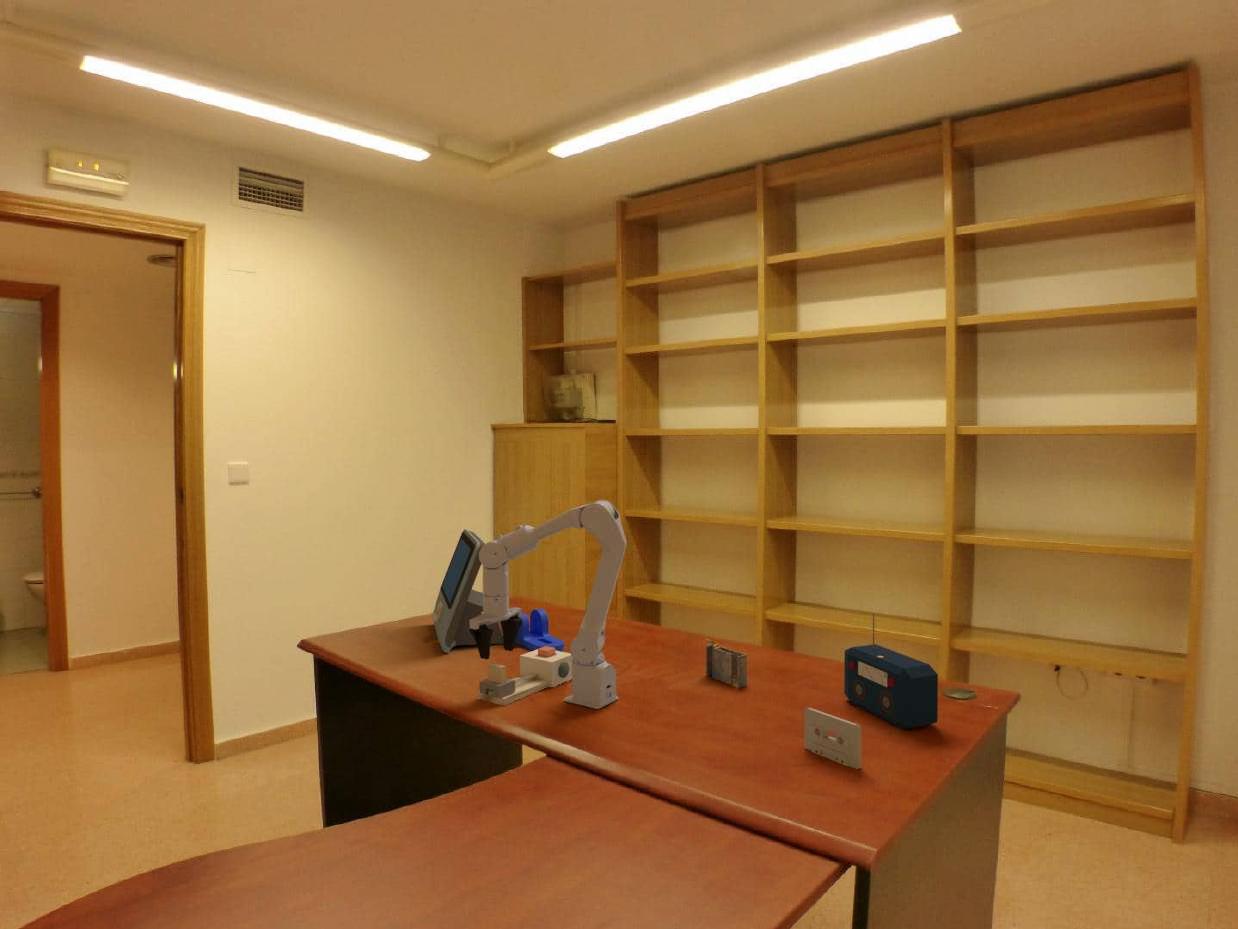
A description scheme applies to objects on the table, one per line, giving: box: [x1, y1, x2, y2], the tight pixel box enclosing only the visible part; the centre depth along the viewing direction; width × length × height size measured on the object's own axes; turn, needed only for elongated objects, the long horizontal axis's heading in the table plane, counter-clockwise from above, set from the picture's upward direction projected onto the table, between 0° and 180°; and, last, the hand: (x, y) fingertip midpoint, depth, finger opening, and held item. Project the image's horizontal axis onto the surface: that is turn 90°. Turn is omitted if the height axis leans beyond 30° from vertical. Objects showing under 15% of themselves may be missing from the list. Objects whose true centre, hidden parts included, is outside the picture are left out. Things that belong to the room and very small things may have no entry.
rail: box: [488, 673, 539, 696], centre depth 177 cm, size 2×15×1 cm, turn 145°
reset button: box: [538, 646, 556, 658], centre depth 186 cm, size 3×3×2 cm
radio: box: [843, 612, 939, 730], centre depth 162 cm, size 21×9×20 cm, turn 21°
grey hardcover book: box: [704, 638, 748, 689], centre depth 185 cm, size 11×3×10 cm, turn 35°
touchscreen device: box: [430, 528, 504, 654], centre depth 227 cm, size 35×20×30 cm, turn 17°
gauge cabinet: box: [519, 649, 572, 688], centre depth 186 cm, size 10×8×6 cm
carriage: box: [478, 662, 515, 698], centre depth 172 cm, size 6×5×6 cm
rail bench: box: [477, 675, 550, 706], centre depth 177 cm, size 8×15×2 cm, turn 145°
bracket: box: [515, 608, 565, 652], centre depth 216 cm, size 18×8×9 cm, turn 37°
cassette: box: [803, 706, 862, 770], centre depth 140 cm, size 12×2×8 cm, turn 37°
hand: (496, 654), depth 175 cm, fingers open, 7 cm apart
